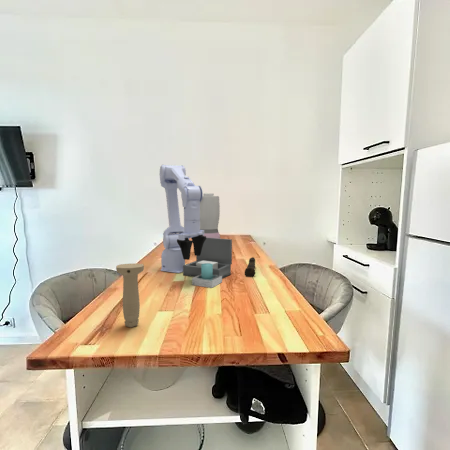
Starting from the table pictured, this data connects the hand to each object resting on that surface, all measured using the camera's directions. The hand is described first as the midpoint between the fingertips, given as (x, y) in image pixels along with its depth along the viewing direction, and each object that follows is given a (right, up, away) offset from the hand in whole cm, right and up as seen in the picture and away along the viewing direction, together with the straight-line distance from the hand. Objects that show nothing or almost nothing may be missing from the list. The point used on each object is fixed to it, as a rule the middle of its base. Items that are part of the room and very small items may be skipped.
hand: (192, 257), depth 116 cm
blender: (+4, -4, +51) cm, 52 cm away
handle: (-11, -13, -36) cm, 40 cm away
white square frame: (+6, -9, 0) cm, 11 cm away
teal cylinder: (+5, -9, 0) cm, 11 cm away
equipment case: (+5, -8, +12) cm, 15 cm away
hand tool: (+22, -8, +18) cm, 30 cm away
